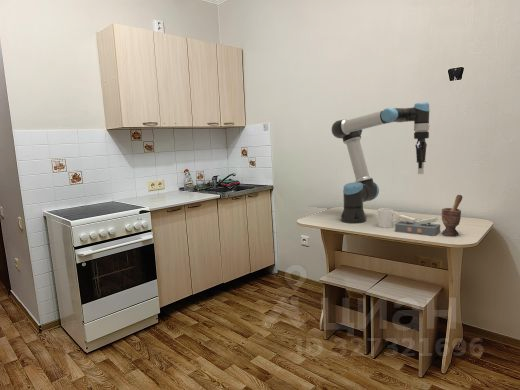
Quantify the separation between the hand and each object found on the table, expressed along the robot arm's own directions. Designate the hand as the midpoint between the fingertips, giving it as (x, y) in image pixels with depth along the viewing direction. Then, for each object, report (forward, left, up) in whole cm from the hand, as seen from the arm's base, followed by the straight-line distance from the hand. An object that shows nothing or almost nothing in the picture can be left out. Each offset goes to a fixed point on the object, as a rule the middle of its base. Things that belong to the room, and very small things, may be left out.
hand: (420, 174), depth 204 cm
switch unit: (+3, -15, -29) cm, 33 cm away
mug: (-14, -11, -30) cm, 35 cm away
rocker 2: (+8, -15, -23) cm, 29 cm away
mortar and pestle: (+19, -12, -30) cm, 37 cm away
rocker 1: (-2, -15, -23) cm, 27 cm away
